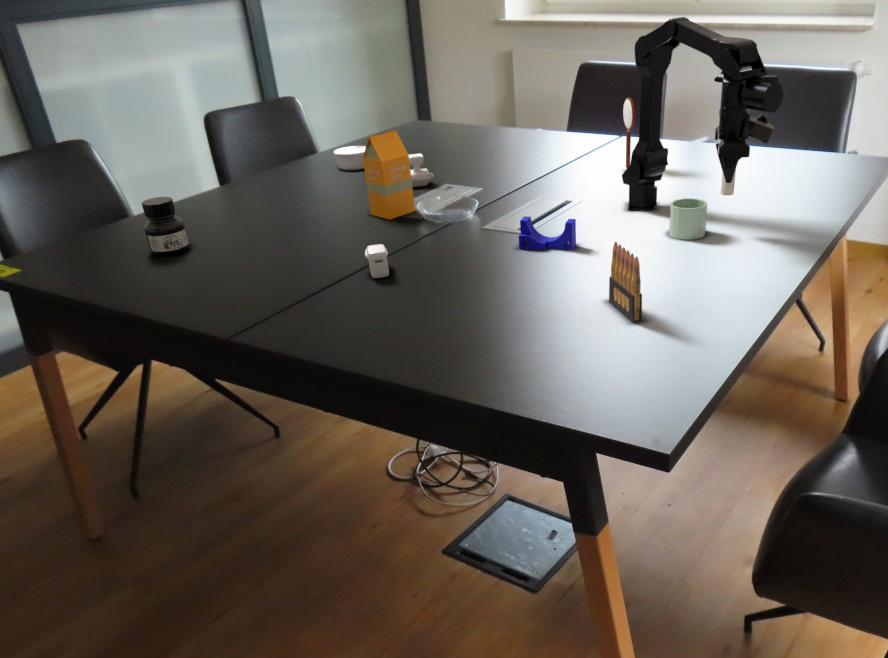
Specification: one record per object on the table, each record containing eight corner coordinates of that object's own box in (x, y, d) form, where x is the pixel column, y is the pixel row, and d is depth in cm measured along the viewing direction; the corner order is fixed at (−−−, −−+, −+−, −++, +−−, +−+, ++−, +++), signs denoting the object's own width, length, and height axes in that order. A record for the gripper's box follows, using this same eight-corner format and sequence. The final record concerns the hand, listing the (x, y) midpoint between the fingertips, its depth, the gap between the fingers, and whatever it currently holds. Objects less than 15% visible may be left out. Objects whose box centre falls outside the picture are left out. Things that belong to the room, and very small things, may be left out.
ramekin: (379, 164, 259) (377, 147, 257) (355, 172, 252) (353, 155, 249) (353, 161, 265) (350, 144, 262) (329, 169, 257) (326, 152, 254)
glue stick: (720, 195, 181) (723, 158, 177) (719, 191, 183) (722, 155, 179) (734, 195, 180) (737, 158, 176) (733, 191, 183) (736, 155, 179)
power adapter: (365, 262, 182) (361, 237, 179) (387, 260, 183) (384, 234, 180) (369, 280, 173) (365, 253, 170) (392, 277, 173) (388, 250, 170)
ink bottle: (151, 259, 192) (136, 209, 185) (147, 249, 198) (132, 200, 192) (194, 251, 195) (181, 201, 189) (189, 241, 202) (175, 192, 196)
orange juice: (415, 210, 214) (406, 131, 203) (389, 219, 209) (378, 138, 198) (396, 206, 219) (386, 128, 208) (370, 214, 213) (358, 135, 203)
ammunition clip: (608, 301, 156) (609, 240, 150) (617, 299, 157) (618, 239, 151) (632, 322, 148) (634, 259, 141) (641, 320, 148) (643, 257, 142)
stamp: (404, 189, 232) (400, 159, 228) (402, 183, 238) (398, 154, 233) (435, 186, 233) (432, 156, 229) (433, 180, 239) (430, 151, 234)
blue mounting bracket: (519, 248, 185) (517, 222, 181) (525, 242, 188) (524, 216, 185) (570, 252, 181) (569, 225, 178) (576, 245, 185) (575, 219, 181)
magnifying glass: (635, 174, 233) (637, 99, 223) (629, 174, 233) (631, 100, 222) (625, 166, 240) (627, 94, 230) (620, 167, 240) (621, 95, 230)
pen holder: (669, 239, 184) (670, 208, 181) (669, 228, 191) (670, 198, 187) (705, 239, 183) (707, 208, 179) (704, 228, 190) (706, 198, 186)
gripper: (779, 114, 163) (770, 192, 171) (769, 96, 179) (761, 169, 187) (721, 115, 165) (715, 193, 173) (717, 98, 180) (711, 170, 189)
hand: (728, 180), depth 180 cm, fingers closed on glue stick, 3 cm apart
